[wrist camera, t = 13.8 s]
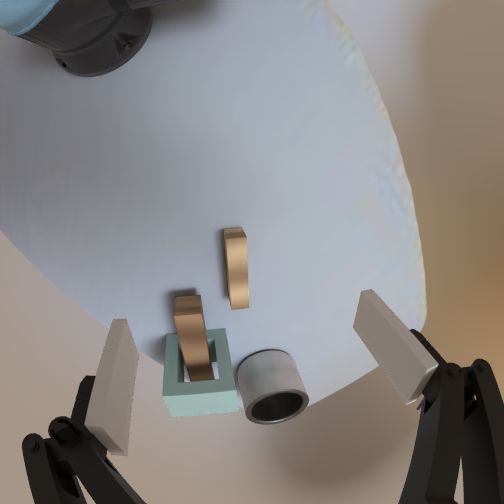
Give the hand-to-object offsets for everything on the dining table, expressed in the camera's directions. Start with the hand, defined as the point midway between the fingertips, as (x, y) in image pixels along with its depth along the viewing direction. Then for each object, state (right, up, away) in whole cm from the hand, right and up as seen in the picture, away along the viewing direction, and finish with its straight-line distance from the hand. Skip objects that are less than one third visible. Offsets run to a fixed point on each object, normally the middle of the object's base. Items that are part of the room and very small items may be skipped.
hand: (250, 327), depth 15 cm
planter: (+3, -21, +42) cm, 47 cm away
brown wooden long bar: (-10, -13, +33) cm, 37 cm away
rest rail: (-3, +2, +30) cm, 30 cm away
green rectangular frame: (-10, -13, +36) cm, 39 cm away
